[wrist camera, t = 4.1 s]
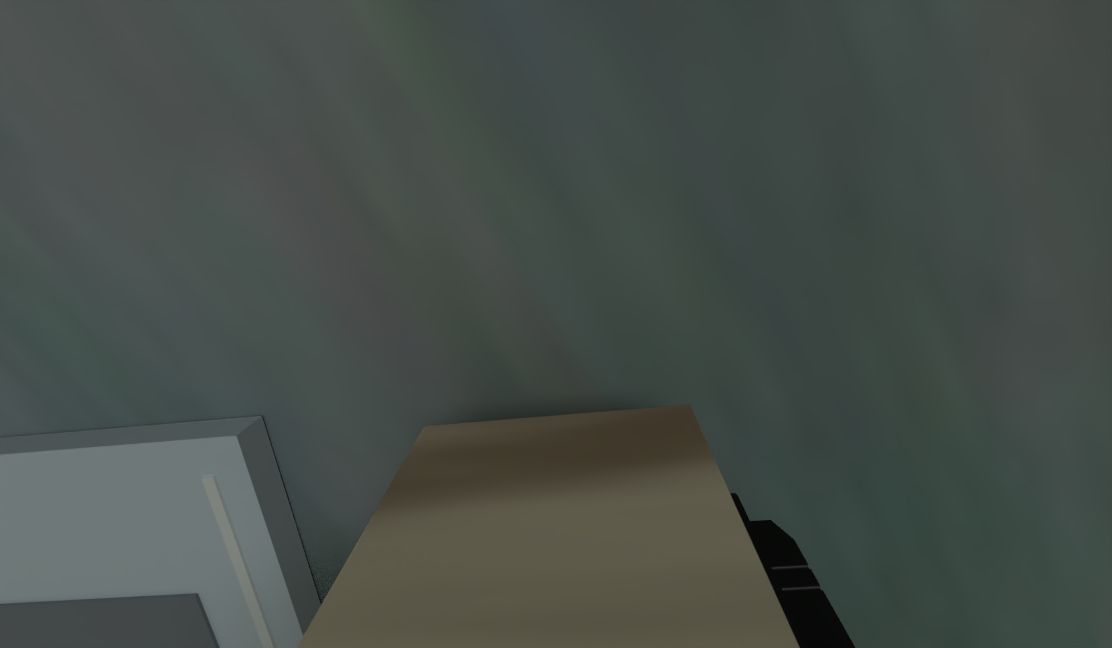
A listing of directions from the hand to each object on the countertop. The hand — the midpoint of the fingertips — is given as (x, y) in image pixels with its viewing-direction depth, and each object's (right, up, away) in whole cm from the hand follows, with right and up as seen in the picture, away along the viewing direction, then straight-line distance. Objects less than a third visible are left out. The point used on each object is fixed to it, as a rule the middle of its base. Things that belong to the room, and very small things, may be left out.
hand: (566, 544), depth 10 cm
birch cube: (0, 0, +1) cm, 0 cm away
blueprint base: (-13, -6, +6) cm, 15 cm away
